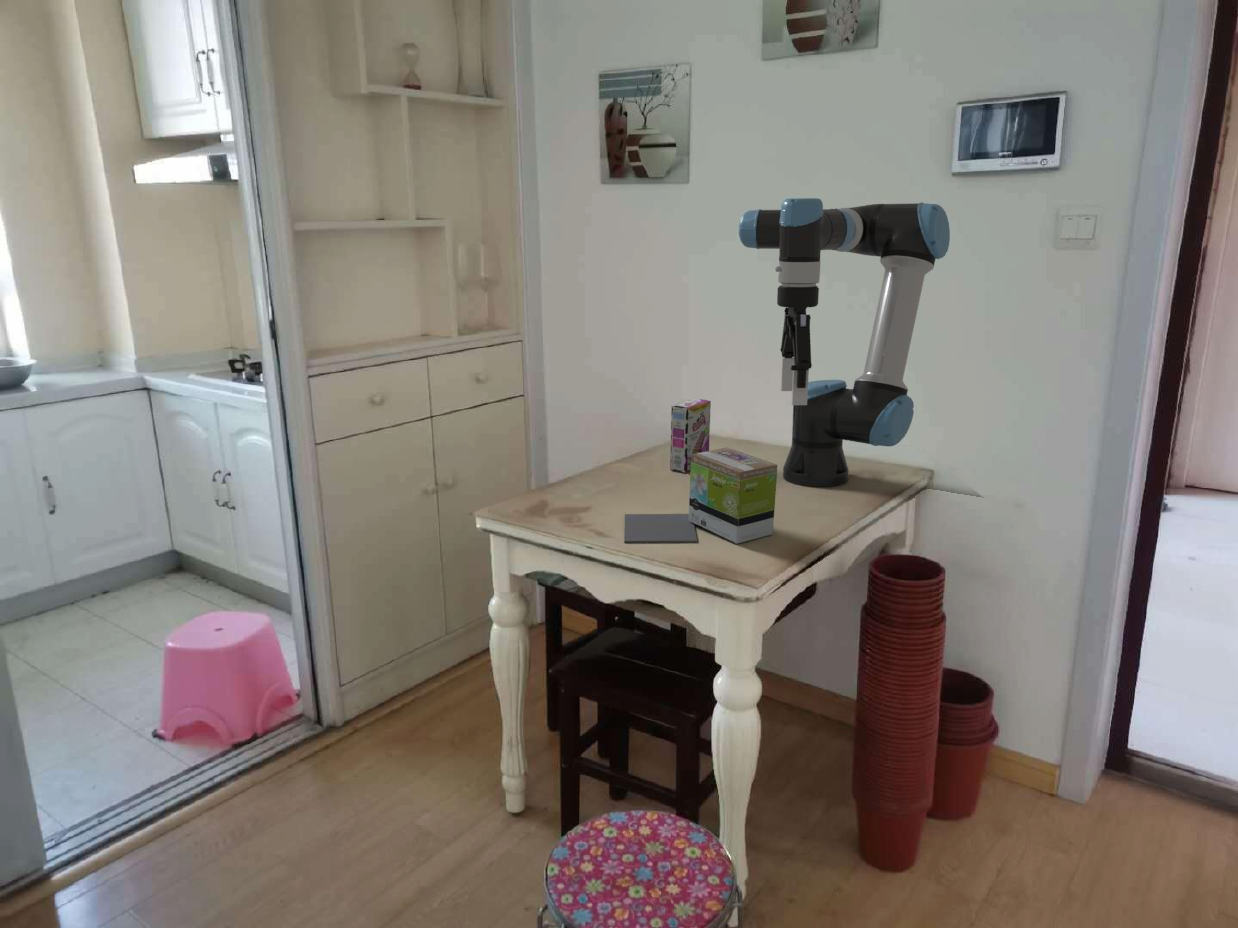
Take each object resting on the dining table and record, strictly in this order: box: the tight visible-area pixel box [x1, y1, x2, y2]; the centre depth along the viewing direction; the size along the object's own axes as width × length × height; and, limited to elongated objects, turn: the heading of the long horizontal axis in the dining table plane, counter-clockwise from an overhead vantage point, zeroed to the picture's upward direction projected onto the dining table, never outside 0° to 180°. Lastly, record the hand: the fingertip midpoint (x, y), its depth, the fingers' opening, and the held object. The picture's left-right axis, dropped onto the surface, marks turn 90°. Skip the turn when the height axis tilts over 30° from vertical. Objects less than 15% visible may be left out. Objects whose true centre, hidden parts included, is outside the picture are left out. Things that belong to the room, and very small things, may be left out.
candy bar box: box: [669, 398, 712, 474], centre depth 224 cm, size 11×5×16 cm, turn 144°
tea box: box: [688, 446, 778, 545], centre depth 180 cm, size 15×10×15 cm, turn 35°
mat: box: [623, 513, 698, 544], centre depth 183 cm, size 14×16×1 cm
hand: (793, 397), depth 175 cm, fingers open, 13 cm apart
